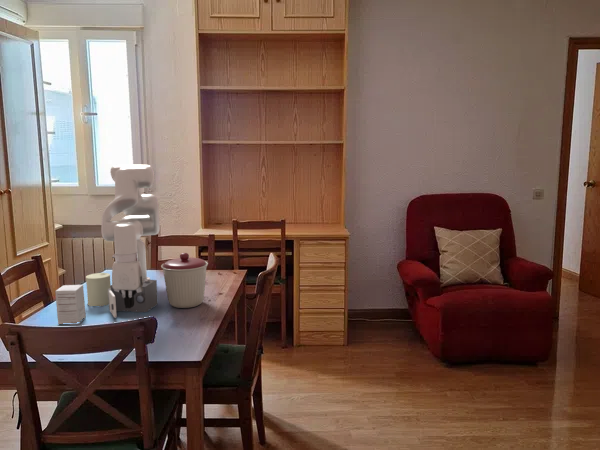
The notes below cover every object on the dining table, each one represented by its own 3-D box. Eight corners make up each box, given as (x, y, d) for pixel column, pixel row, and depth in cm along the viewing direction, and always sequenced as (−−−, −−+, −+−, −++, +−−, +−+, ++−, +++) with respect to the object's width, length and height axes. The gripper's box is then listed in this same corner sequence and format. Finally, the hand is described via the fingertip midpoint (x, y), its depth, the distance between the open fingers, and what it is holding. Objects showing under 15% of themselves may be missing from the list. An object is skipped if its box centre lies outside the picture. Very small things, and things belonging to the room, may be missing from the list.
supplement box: (65, 318, 177) (62, 284, 175) (86, 317, 177) (83, 284, 176) (57, 325, 170) (54, 290, 168) (79, 324, 170) (76, 290, 168)
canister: (160, 301, 197) (157, 250, 194) (204, 295, 204) (202, 247, 201) (166, 314, 180) (163, 259, 177) (214, 308, 187) (212, 255, 184)
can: (117, 300, 197) (115, 272, 195) (101, 307, 189) (98, 278, 187) (98, 298, 200) (97, 270, 198) (82, 305, 192) (80, 276, 190)
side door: (107, 310, 184) (106, 289, 183) (112, 309, 185) (110, 288, 184) (112, 318, 175) (111, 296, 174) (117, 317, 176) (115, 295, 175)
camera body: (110, 311, 184) (108, 284, 182) (125, 302, 195) (123, 276, 193) (145, 313, 181) (143, 285, 180) (158, 304, 192) (157, 278, 191)
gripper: (101, 259, 169) (104, 309, 172) (141, 260, 167) (143, 311, 170) (112, 255, 177) (116, 303, 179) (151, 256, 174) (153, 304, 177)
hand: (129, 307), depth 175 cm, fingers closed
